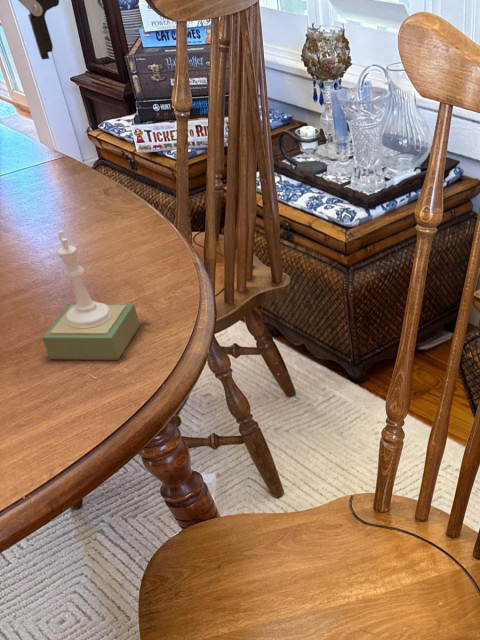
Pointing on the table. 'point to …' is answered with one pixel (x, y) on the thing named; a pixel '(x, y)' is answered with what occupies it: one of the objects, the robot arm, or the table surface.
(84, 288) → the chess piece
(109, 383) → the table surface
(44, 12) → the robot arm
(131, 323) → the green square box
